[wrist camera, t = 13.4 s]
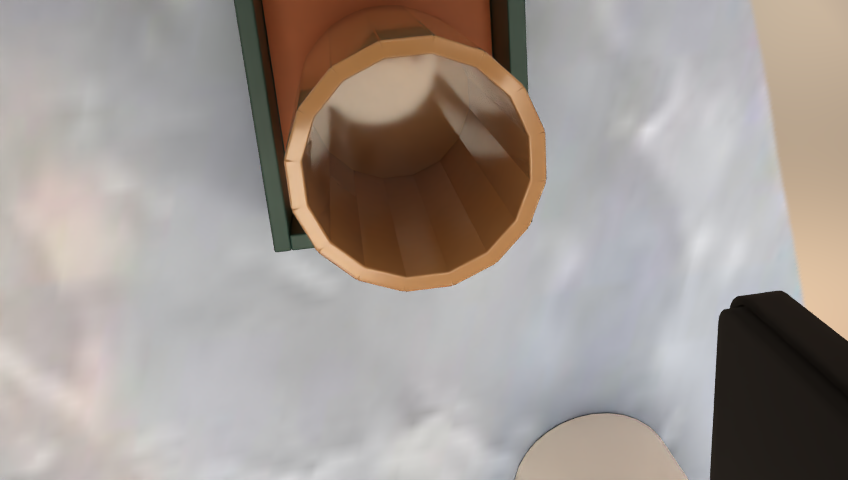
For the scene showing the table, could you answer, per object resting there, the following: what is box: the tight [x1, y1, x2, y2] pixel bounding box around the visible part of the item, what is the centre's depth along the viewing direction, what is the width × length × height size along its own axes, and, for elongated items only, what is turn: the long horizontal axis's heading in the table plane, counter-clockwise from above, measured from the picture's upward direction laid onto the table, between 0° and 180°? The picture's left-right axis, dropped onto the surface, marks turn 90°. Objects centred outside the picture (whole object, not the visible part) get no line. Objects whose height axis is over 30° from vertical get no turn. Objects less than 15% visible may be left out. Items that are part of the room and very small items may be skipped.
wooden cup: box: [284, 5, 546, 292], centre depth 25 cm, size 7×7×10 cm
